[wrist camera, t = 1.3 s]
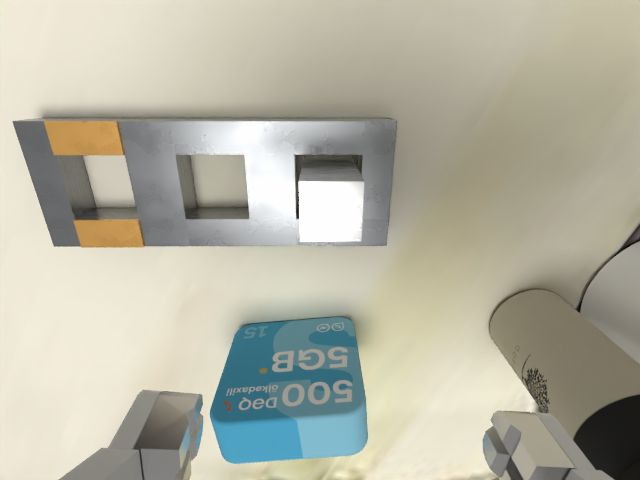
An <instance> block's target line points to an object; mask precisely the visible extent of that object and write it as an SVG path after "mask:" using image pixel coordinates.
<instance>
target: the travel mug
mask: <svg viewBox="0 0 640 480" xmlns="http://www.w3.org/2000/svg"><path fill="white" fill-rule="evenodd" d="M490 335H491V338H492V340H493V341H494V343H495V344H496V346H497V347H498V349H499V350H500V351H501V353H502V354H503V356H504V357H505V359H506V360H507V361H508V363H509V364H510V366H511V367H512V369H513V370H514V371H515V373H516V374H517V376H518V377H519V379H520V380H521V381H522V383H523V384H524V386H525V387H526V389H527V390H528V391H529V393H530V394H531V396H532V397H533V399H534V400H535V401H536V403H537V404H538V406H539V407H540V408H541V410H542V411H543V413H550V414H552V415H553V416H554V417H556V419H557V420H558V421H559V422H560V424H561V425H562V426H563V428H564V429H565V430H566V432H567V433H568V434H569V435H570V437H571V438H572V439H573V441H574V442H575V443H576V445H577V446H578V447H579V449H580V450H581V451H582V452H583V454H584V455H585V456H586V458H587V459H588V460H589V462H590V463H591V464H592V466H593V467H594V468H595V469H596V470H601V471H603V472H604V473H606V474H607V475H609V476H610V477H611V478H613V479H614V480H640V364H639V363H638V362H636V361H635V360H634V359H633V358H632V357H631V356H629V355H628V354H627V353H626V352H625V351H624V350H622V349H621V348H620V347H619V346H618V345H616V344H615V343H614V342H613V341H612V340H611V339H609V338H608V337H607V336H606V335H605V334H604V333H602V332H601V331H600V330H599V329H598V328H597V327H595V326H594V325H593V324H592V323H591V322H589V321H588V320H587V319H586V318H585V317H584V316H582V315H581V314H580V313H579V312H578V311H577V310H575V309H574V308H573V307H572V306H571V305H569V304H568V303H567V302H566V301H565V300H564V299H562V298H561V297H560V296H559V295H557V294H556V293H553V292H551V291H547V290H529V291H525V292H521V293H519V294H516V295H514V296H512V297H511V298H509V299H508V300H506V301H505V302H504V303H503V304H501V305H500V307H499V308H498V309H497V310H496V311H495V313H494V315H493V317H492V319H491V322H490Z"/></svg>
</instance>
